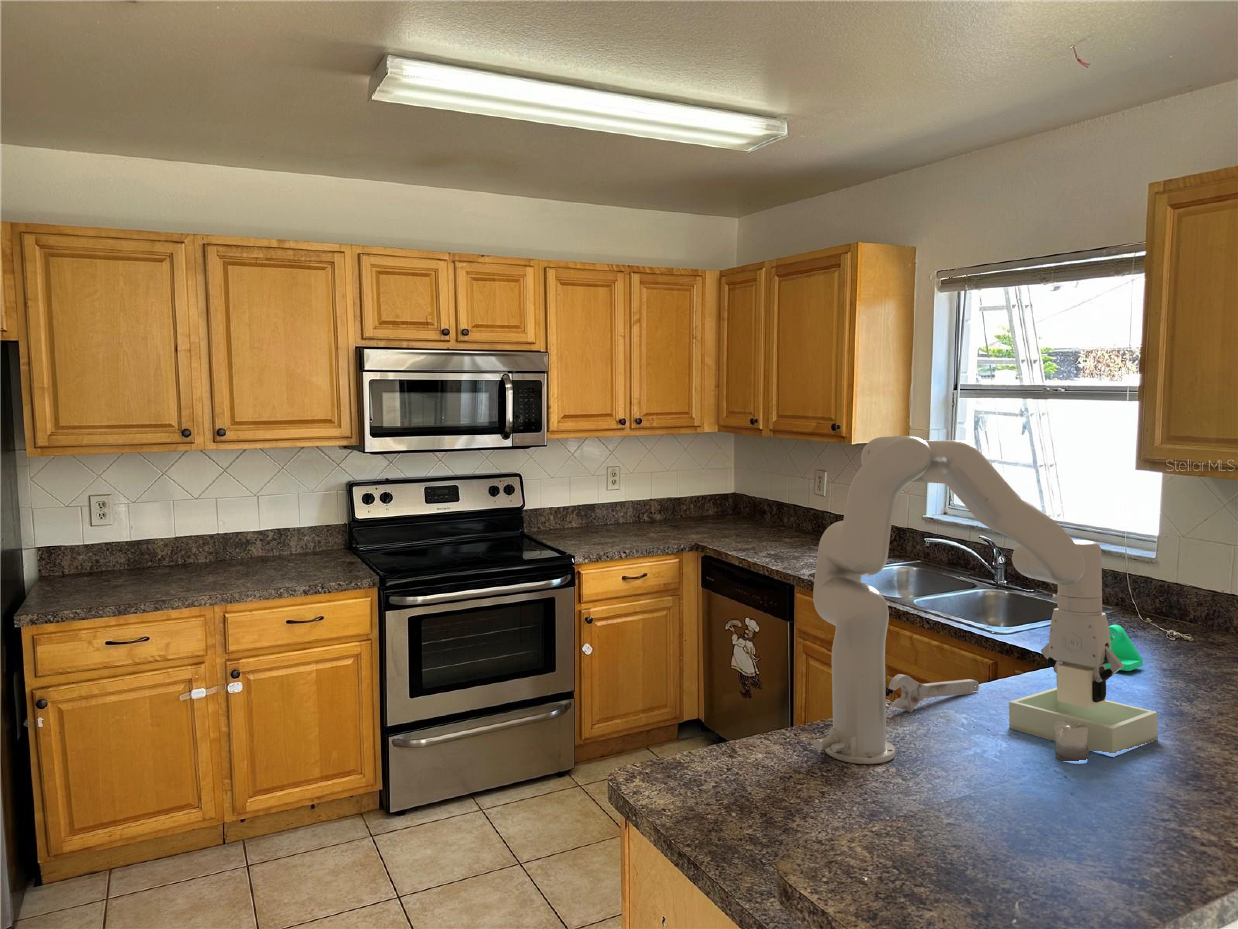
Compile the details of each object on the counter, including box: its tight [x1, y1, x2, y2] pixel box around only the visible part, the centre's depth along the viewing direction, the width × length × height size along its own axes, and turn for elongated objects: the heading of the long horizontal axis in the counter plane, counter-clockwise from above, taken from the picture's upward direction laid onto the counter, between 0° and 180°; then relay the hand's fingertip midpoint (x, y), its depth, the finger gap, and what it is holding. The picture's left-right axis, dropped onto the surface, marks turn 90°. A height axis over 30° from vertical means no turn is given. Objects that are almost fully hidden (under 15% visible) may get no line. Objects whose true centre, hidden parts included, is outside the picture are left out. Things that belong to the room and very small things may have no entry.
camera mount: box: [1104, 624, 1144, 672], centre depth 210 cm, size 12×8×10 cm, turn 37°
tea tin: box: [1054, 721, 1089, 762], centre depth 151 cm, size 5×5×6 cm
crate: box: [1008, 687, 1159, 753], centre depth 164 cm, size 16×20×5 cm
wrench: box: [888, 673, 980, 713], centre depth 185 cm, size 8×2×30 cm
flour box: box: [1056, 663, 1106, 708], centre depth 164 cm, size 6×6×7 cm
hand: (1081, 696), depth 164 cm, fingers closed on flour box, 6 cm apart
